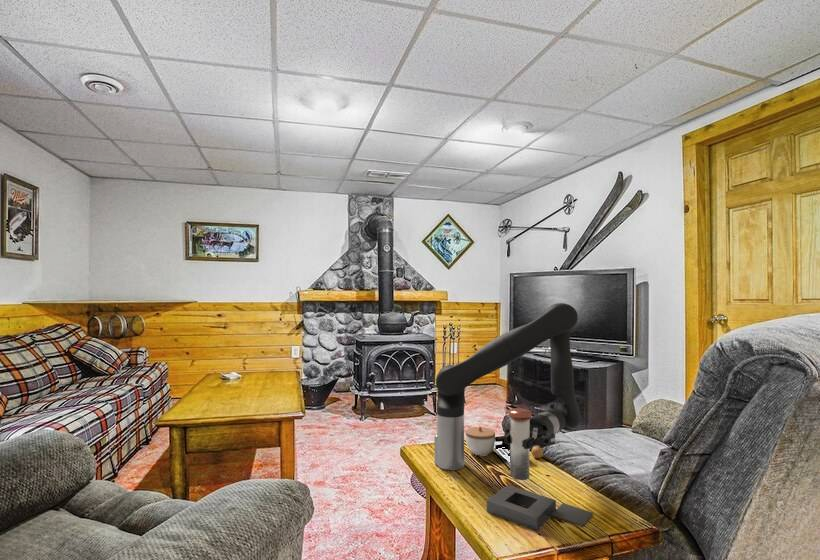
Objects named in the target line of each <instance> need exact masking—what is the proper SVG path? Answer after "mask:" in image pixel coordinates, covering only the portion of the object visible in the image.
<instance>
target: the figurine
mask: <svg viewBox="0 0 820 560" xmlns="http://www.w3.org/2000/svg"><path fill="white" fill-rule="evenodd" d="M530 454H531V456H533V457H534V458H536V459H540V458H541V457H543V455H544V450H543V448H541V447H539V445H537V446H536V447H532V448H531V453H530Z"/></svg>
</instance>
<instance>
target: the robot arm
mask: <svg viewBox="0 0 820 560" xmlns="http://www.w3.org/2000/svg"><path fill="white" fill-rule="evenodd" d="M578 319H579V315H578V313H577V309H575V308H574V307H573V306H572V305H570V304H568V303H563V302H558V303H553V304H552V305H550V306H549V307H548V309H547V310H546V312H544V313H543V314H542V315H540V316H539V317H537V318H536V319H534V320H532V321H530V322H529V323H526V324H524V325H521V326H518V327H516V328H513V329H511V330H509V331H506V332H504V333H502V334H501V335H499V336H497V337H495V338H494V339H492V340H490V341H489V342H488V343H486V344H485V345H483V346H482V347H481V348H480V349H478V350H477V351H476V352H475V353H474V354H473V355H471V356H470V357H468V358H466V359H465V360H463V361H461V362H459V363H456V364H447V365H444V366H443V367H441V369H439V371H438V373H437V375H436V378H435V386H436V390H437V398H436V399H437V400H436V401H437V402H436V434H435V435H434V438H433V439H434V443H433V444H434V465H436V466H437V467H438V468H439V469H442V470H446V471H447V470H448V471H457V470H461V469H463V468H464V467H465V389H466V388H467V387H468V386H470V385H471V384H473V383H474V382H476V381H477V380H479V379H481V378H482V377H484V376H486V375H489V374H491V373H493V372H496V371H497V370H499V369H501V368H503V367H505V366H508V365H510V364H512V363H513V362H514V361H517V360H518V359H519V358H521V357H523V356H524V355H526V354H528V353H530V351H533V349H535V348H537V347H538V346H539V345H540V344H542V343H544V342H546V341H548V340H549V343H550V344H549V346H550V391H551V394H552V395H553V396H555V397H558V398H559V399H562V400H563V401H564V403H560V402H550V403H548V404H547V406H546V408H545V411H542V412H539V413H537V414H535V415H533V416H532V417H531V418H530V438H528V439H526V440H525V441H524V449H529V448H530V449H532V448H533V447H536V446H537V445H538V446H539V447H541V448H542V449H544V448H546V447H550V446H552V445H555V444H556V435H557V434H558V433H560V432H561V431H562V430H563V429H564V428H565V427H566V428H569V429H570V428H571V429H576V428H577V427H578V426H579V425H580V423H581V420H582V416H581V411H580V408H579V404H578V401H577V397H576V393H575V386H574V385H575V377H574V366H573V360H572V353H571V344H570V343H571V330H572V329H574V327H575V326H576V325H577V323H578ZM504 433H505V436H504V435H503V436H504V442H505V444H509V443H510V423H508V425H507V426H506V427H505V429H504Z"/></svg>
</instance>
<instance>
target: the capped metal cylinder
mask: <svg viewBox="0 0 820 560" xmlns="http://www.w3.org/2000/svg"><path fill="white" fill-rule="evenodd" d="M532 413H533V412H532V411H531V410H530V409H527V408H522V407H521V408H519V407H513V408H509V409H508V417H509V418H510V423H509V424H510V463H509V476H510V478H511V479H514V480H517V481H527V480H529V479H530V454H531V453H530V449H531V448H529V449H524V441H525V440H526V439H528V438H530V418H531V417H533V416H532Z"/></svg>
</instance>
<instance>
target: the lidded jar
mask: <svg viewBox="0 0 820 560" xmlns="http://www.w3.org/2000/svg"><path fill="white" fill-rule="evenodd" d="M464 434H465V442H466V446H467V448H468V450H469V451H470V452H471V453H473V454H472V455H474V454H475V455H474V456H477V455H480V456H479V457H486V456H488V455H489V454H490V453H491V452H492V451H493V449H494V448H495V445H496V444H495V443H496V442H495V437H496V431H495V430H494V429H492V428H489V427H482V426H473V427H468V428H467V429H465V431H464Z"/></svg>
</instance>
